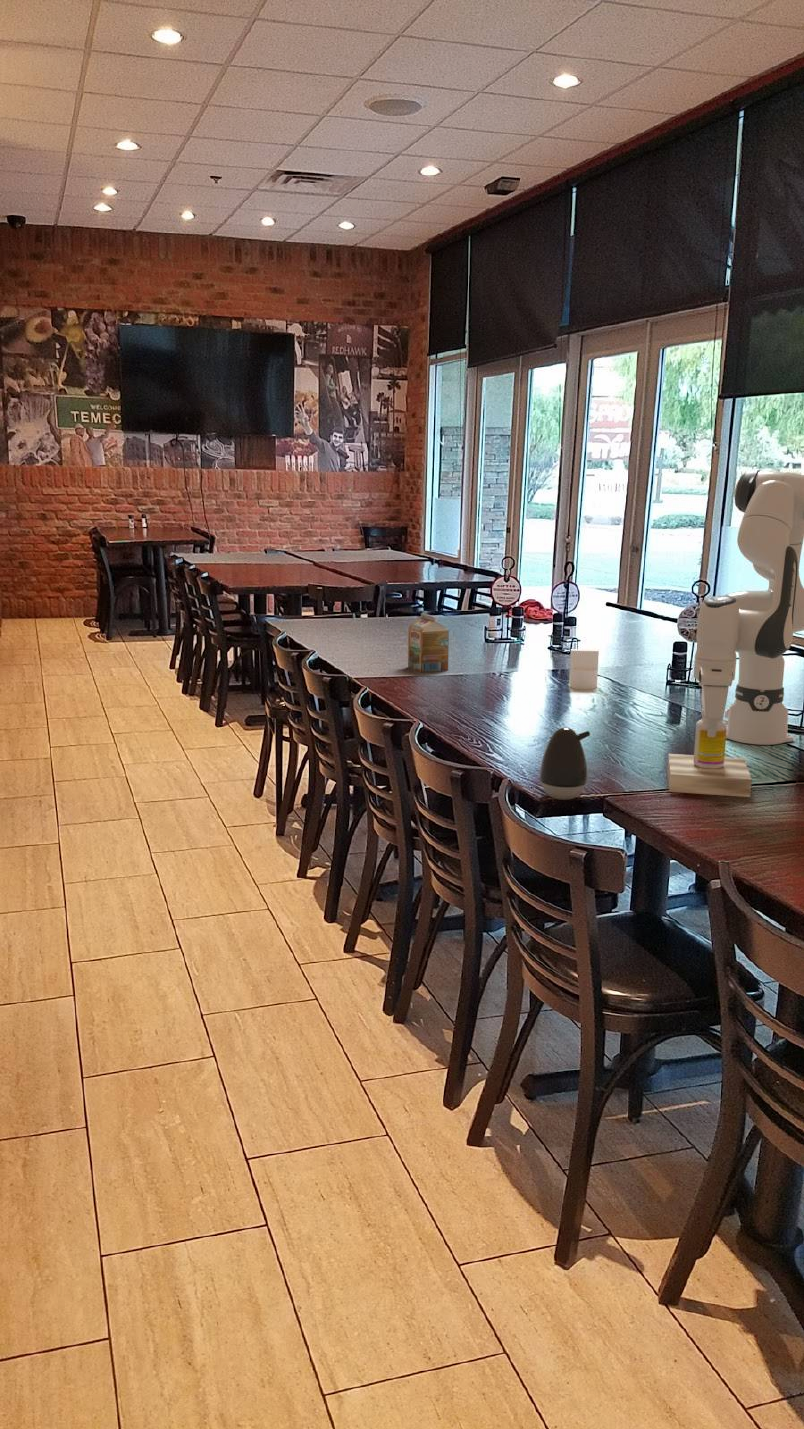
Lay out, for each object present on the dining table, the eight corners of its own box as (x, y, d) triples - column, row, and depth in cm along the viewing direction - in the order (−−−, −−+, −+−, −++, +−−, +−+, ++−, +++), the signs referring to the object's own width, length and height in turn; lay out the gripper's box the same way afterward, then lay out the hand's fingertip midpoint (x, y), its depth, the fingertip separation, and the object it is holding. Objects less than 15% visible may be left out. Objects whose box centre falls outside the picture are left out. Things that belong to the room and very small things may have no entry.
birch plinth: (667, 770, 256) (668, 753, 255) (742, 774, 252) (743, 758, 251) (669, 791, 238) (670, 774, 238) (750, 797, 235) (751, 779, 234)
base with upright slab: (595, 684, 358) (597, 648, 355) (598, 689, 349) (599, 652, 347) (568, 683, 359) (569, 647, 356) (569, 688, 350) (571, 652, 347)
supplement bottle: (728, 769, 242) (733, 712, 239) (700, 770, 241) (705, 713, 238) (715, 761, 248) (719, 706, 246) (688, 762, 247) (692, 707, 244)
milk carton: (408, 667, 386) (408, 613, 382) (434, 665, 390) (435, 612, 386) (421, 672, 376) (421, 617, 372) (448, 670, 381) (449, 616, 377)
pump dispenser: (592, 803, 230) (596, 733, 226) (544, 803, 229) (547, 733, 226) (581, 789, 240) (584, 722, 236) (534, 789, 239) (537, 722, 236)
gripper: (697, 661, 250) (693, 720, 253) (701, 678, 231) (697, 741, 234) (726, 663, 249) (721, 721, 252) (732, 680, 230) (727, 743, 233)
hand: (709, 731), depth 243 cm, fingers open, 8 cm apart
